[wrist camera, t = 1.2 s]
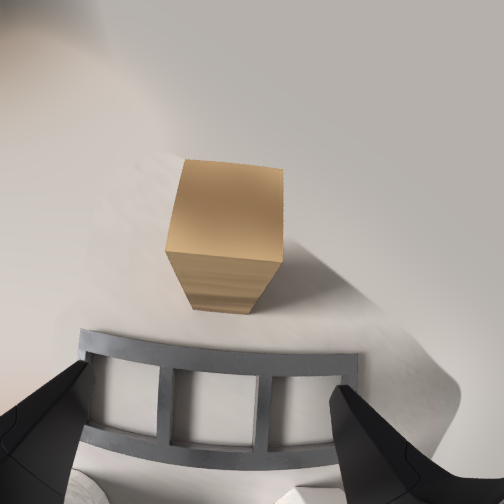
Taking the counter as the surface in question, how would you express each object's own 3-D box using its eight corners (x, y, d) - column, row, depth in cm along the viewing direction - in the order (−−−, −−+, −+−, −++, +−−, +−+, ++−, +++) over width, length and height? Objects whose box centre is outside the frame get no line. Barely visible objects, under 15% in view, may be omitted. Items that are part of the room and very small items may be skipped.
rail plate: (342, 457, 18) (349, 461, 17) (83, 435, 16) (75, 439, 15) (350, 354, 22) (357, 353, 21) (88, 330, 20) (80, 328, 19)
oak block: (247, 314, 23) (282, 262, 11) (193, 309, 22) (164, 250, 10) (250, 263, 24) (283, 169, 12) (199, 258, 24) (185, 159, 12)
